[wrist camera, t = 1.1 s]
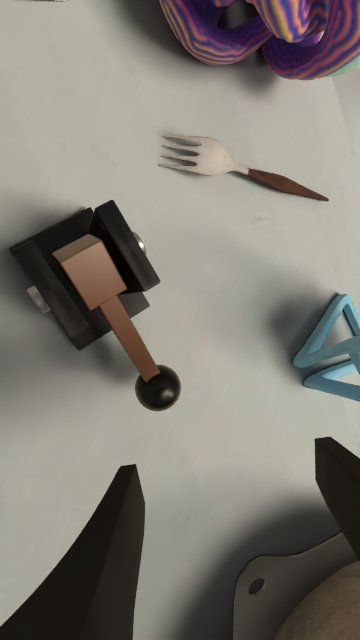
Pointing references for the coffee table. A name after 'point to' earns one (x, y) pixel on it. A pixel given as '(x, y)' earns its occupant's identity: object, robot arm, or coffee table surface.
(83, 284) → the lever
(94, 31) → the coffee table surface
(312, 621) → the bowl
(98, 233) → the bracket
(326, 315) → the chair
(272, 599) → the cleaver
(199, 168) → the fork
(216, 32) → the sculpture
